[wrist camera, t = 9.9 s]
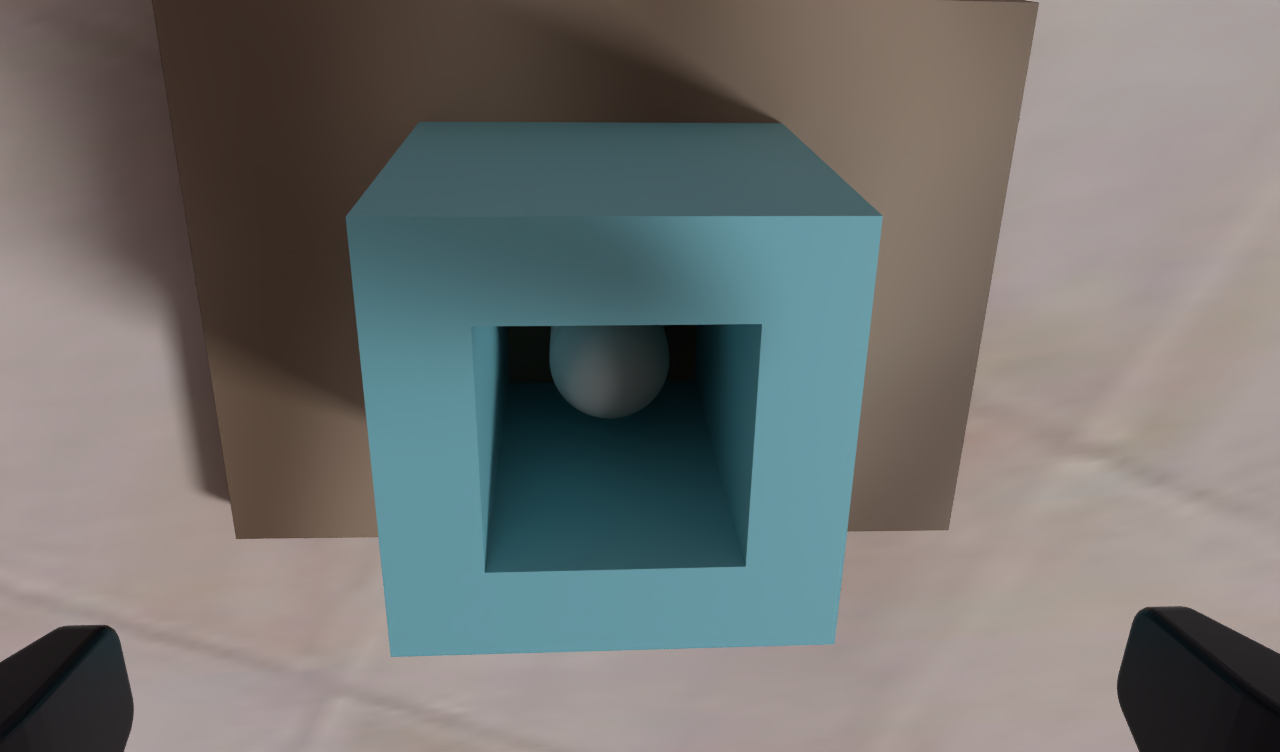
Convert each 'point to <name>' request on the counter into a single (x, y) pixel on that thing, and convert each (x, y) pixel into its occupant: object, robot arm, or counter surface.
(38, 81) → the counter surface
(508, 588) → the square socket block
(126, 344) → the counter surface
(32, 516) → the counter surface
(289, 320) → the pin plate
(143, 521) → the counter surface
